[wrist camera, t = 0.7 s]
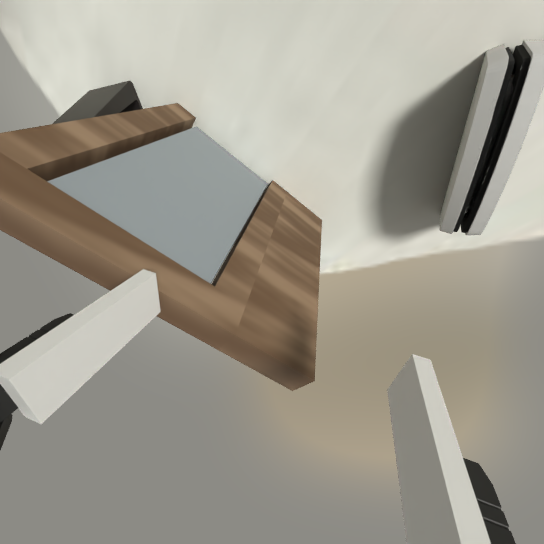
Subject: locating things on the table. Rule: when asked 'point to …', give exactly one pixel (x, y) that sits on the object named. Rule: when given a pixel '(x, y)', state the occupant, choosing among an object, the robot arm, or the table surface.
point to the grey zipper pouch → (493, 134)
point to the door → (173, 197)
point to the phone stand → (103, 102)
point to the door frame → (170, 275)
